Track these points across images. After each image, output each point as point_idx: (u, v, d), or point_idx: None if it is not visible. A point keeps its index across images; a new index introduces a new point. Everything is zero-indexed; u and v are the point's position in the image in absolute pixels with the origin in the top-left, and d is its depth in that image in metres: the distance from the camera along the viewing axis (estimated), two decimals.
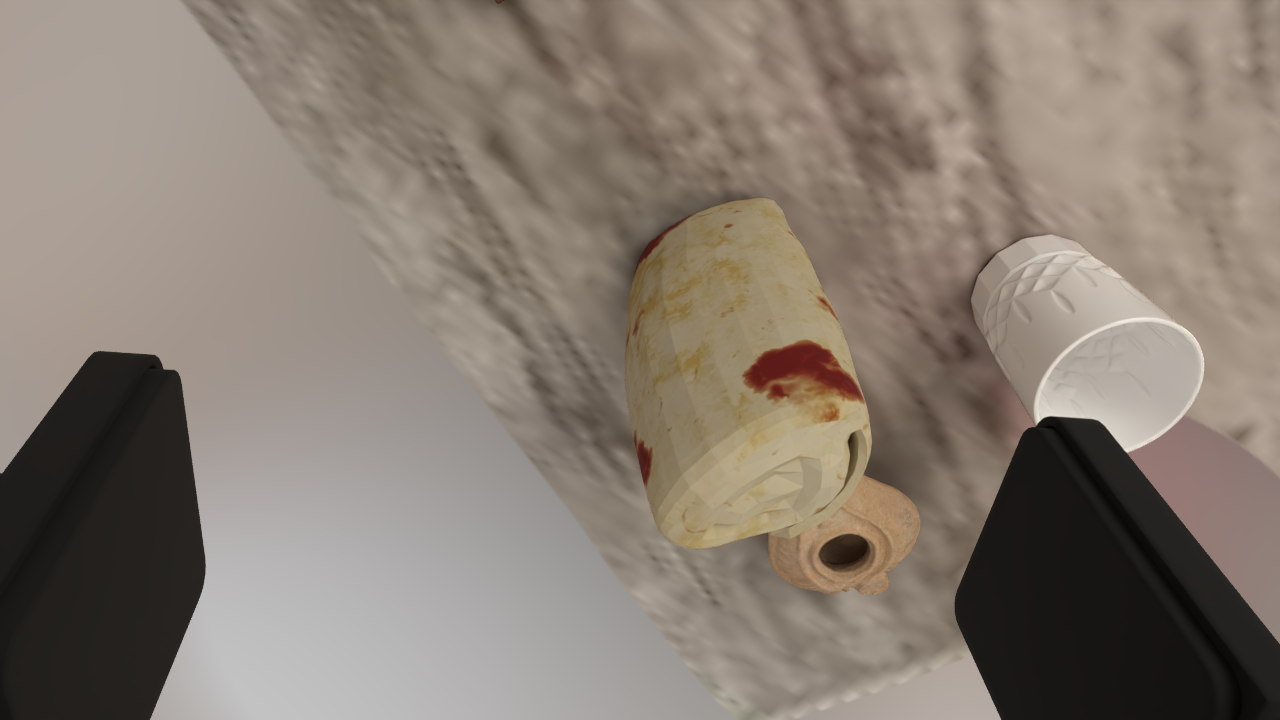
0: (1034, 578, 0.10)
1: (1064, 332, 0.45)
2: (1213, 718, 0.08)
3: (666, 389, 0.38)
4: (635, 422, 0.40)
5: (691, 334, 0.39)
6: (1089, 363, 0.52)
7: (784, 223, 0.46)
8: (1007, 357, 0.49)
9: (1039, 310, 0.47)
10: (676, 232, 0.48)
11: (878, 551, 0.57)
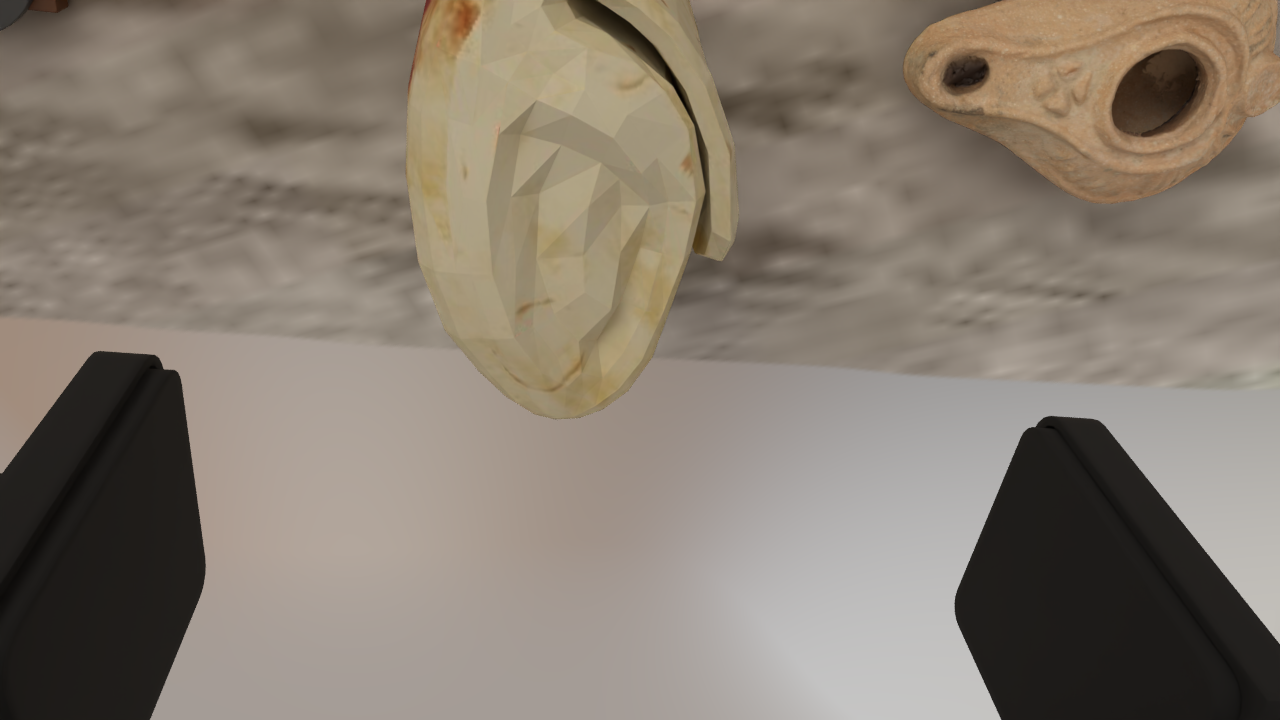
0: (1034, 578, 0.10)
1: None
2: (1213, 718, 0.08)
3: None
4: None
5: None
6: None
7: None
8: None
9: None
10: None
11: (1203, 43, 0.31)
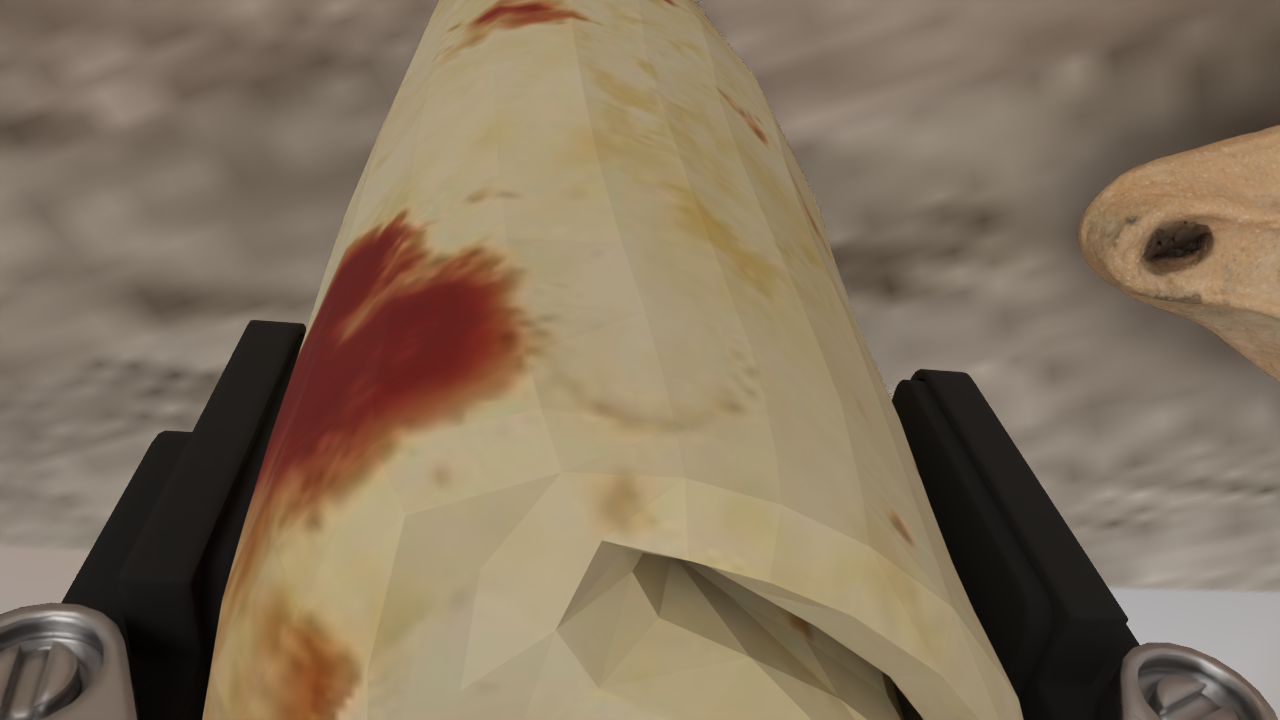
0: None
1: None
2: (1027, 636, 0.08)
3: None
4: None
5: None
6: None
7: None
8: None
9: None
10: None
11: None
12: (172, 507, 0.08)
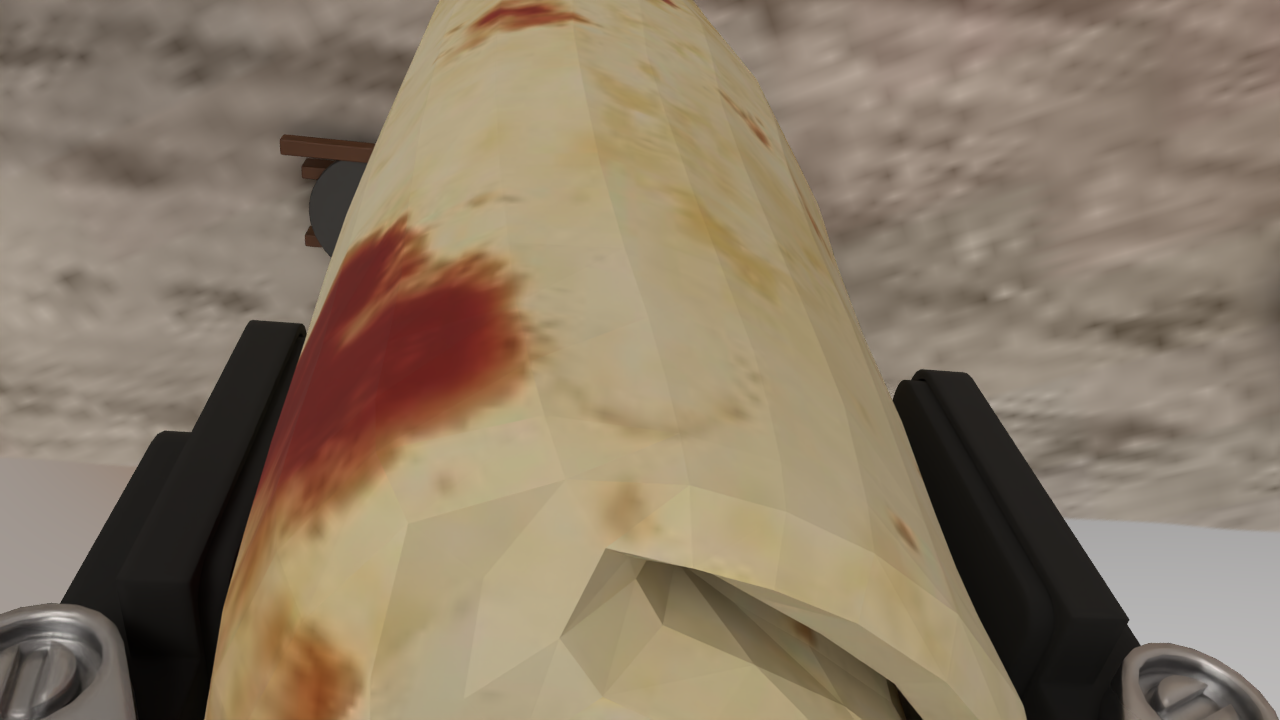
0: None
1: None
2: (1028, 636, 0.08)
3: None
4: None
5: None
6: None
7: None
8: None
9: None
10: None
11: None
12: (171, 507, 0.08)
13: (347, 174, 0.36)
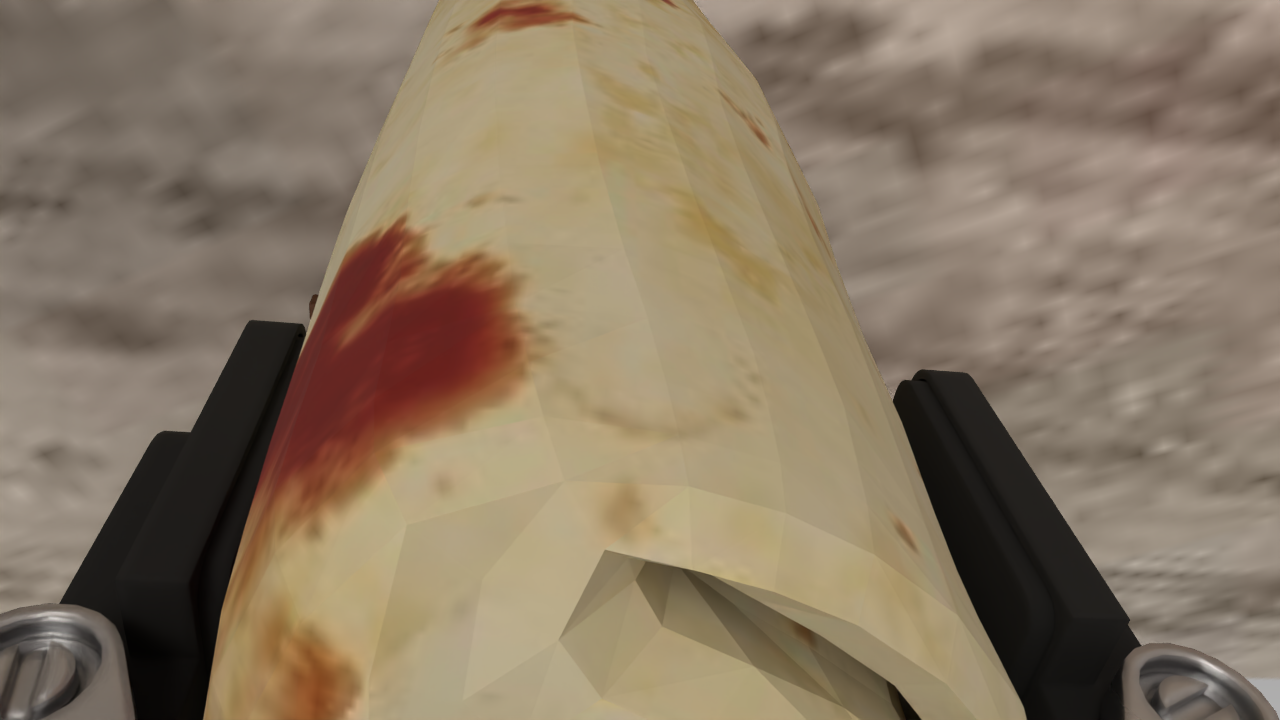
0: None
1: None
2: (1029, 637, 0.08)
3: None
4: None
5: None
6: None
7: None
8: None
9: None
10: None
11: None
12: (171, 507, 0.08)
13: None
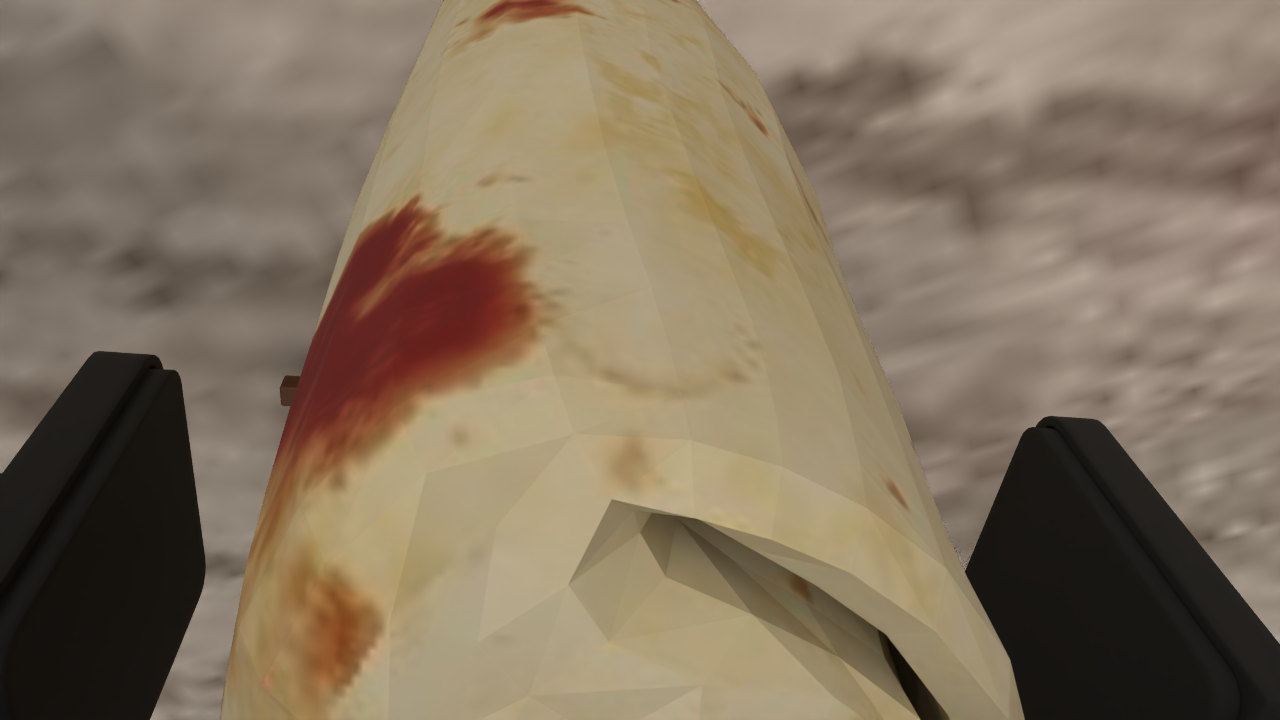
0: (1034, 578, 0.10)
1: None
2: (1213, 718, 0.08)
3: None
4: None
5: None
6: None
7: None
8: None
9: None
10: None
11: None
12: None
13: None
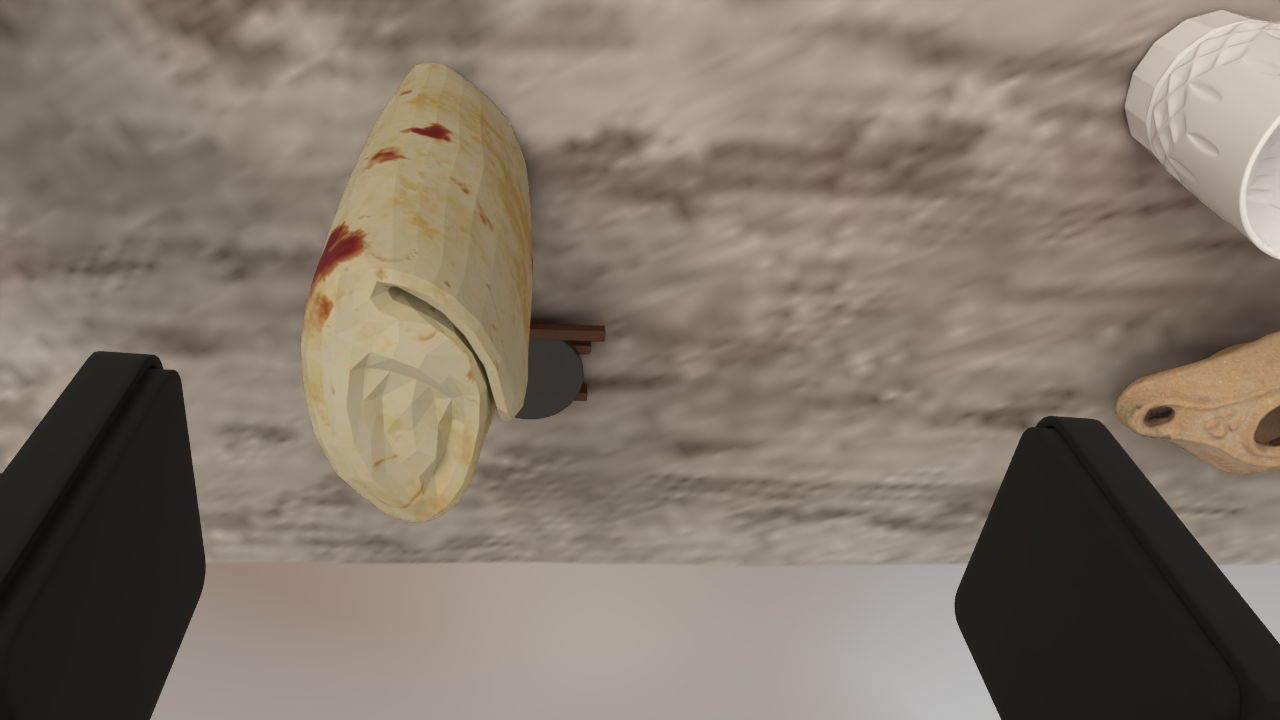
0: (1034, 578, 0.10)
1: (1225, 182, 0.37)
2: (1213, 719, 0.08)
3: None
4: None
5: None
6: None
7: (410, 84, 0.38)
8: None
9: (1192, 164, 0.39)
10: None
11: None
12: None
13: None
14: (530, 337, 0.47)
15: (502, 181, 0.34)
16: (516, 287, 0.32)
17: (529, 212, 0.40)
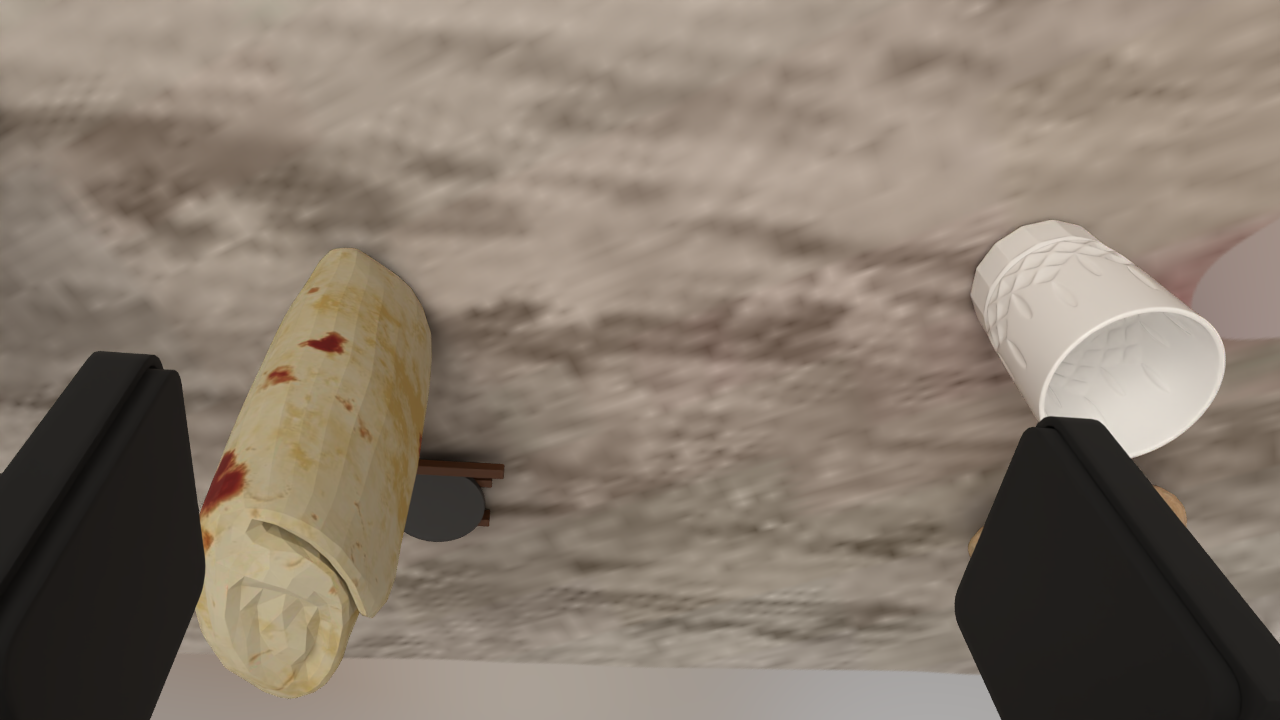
0: (1034, 578, 0.10)
1: (1030, 393, 0.43)
2: (1213, 719, 0.08)
3: None
4: None
5: None
6: None
7: (320, 276, 0.43)
8: None
9: (1011, 367, 0.45)
10: None
11: None
12: None
13: None
14: (435, 474, 0.52)
15: (390, 380, 0.40)
16: (392, 486, 0.37)
17: (426, 385, 0.45)
